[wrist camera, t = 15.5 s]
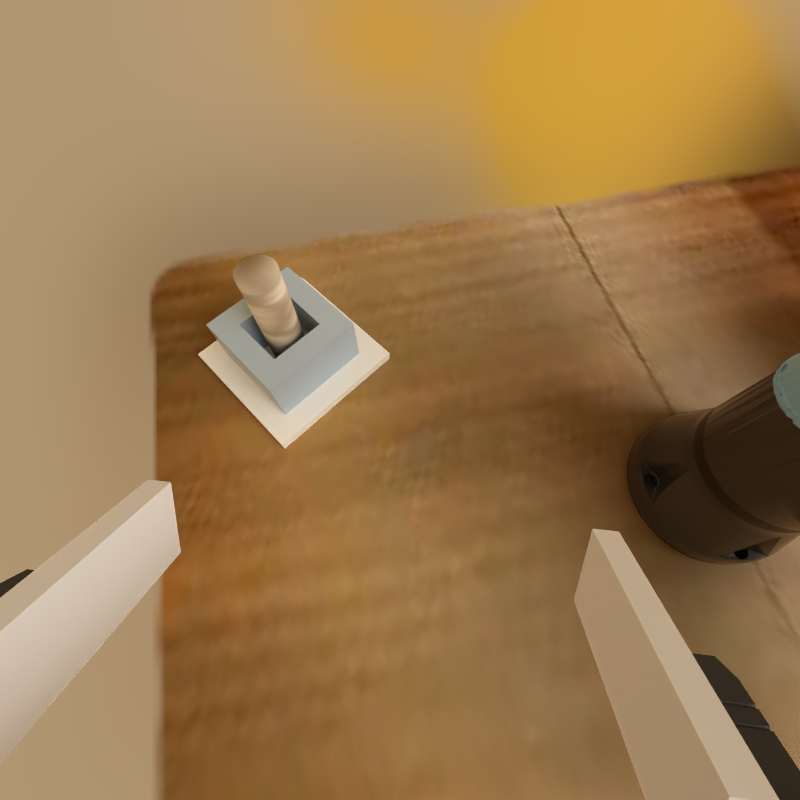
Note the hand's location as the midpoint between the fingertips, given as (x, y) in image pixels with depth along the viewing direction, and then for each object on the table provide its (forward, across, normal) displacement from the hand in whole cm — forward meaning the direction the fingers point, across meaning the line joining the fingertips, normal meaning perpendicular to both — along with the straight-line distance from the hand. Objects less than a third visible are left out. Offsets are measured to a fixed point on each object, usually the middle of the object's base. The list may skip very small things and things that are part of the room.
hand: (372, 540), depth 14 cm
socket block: (+38, -15, -5) cm, 41 cm away
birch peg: (+37, -15, -4) cm, 40 cm away
